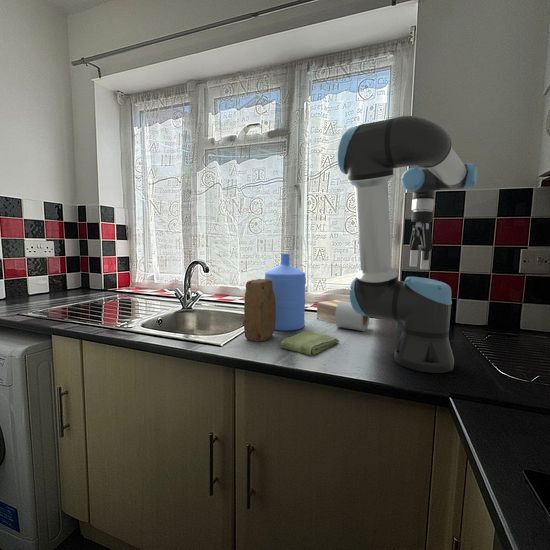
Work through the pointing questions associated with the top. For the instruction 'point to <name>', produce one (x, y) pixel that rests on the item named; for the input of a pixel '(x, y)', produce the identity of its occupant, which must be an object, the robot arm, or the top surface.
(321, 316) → the oak brick
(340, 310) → the toilet paper
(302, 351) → the washcloth
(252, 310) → the block
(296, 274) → the water jug
